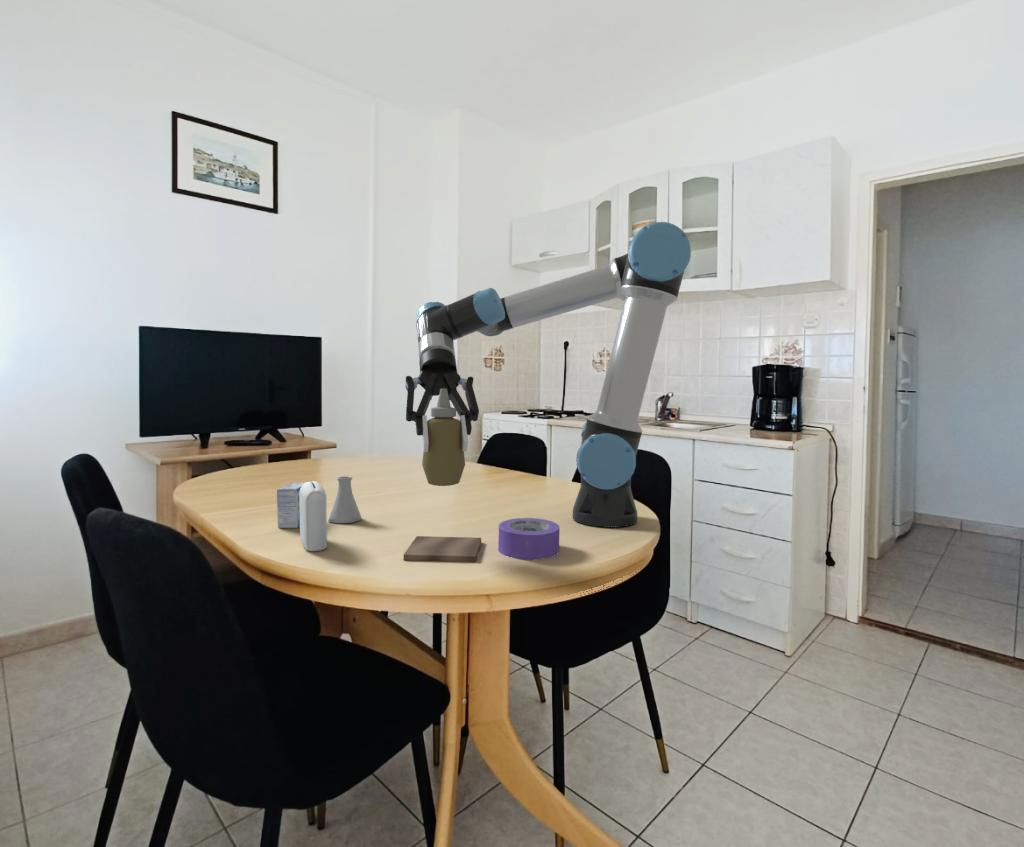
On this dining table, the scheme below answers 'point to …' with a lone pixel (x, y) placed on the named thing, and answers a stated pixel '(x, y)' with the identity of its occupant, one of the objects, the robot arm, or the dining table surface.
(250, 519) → the dining table surface
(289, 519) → the medicine box
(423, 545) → the plate
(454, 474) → the squeeze bottle
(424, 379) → the robot arm
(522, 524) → the tape roll
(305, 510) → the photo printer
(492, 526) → the dining table surface
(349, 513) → the flask
